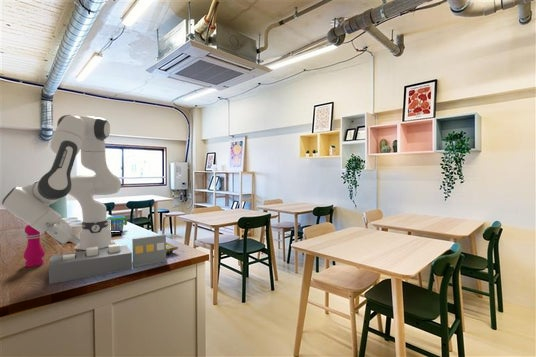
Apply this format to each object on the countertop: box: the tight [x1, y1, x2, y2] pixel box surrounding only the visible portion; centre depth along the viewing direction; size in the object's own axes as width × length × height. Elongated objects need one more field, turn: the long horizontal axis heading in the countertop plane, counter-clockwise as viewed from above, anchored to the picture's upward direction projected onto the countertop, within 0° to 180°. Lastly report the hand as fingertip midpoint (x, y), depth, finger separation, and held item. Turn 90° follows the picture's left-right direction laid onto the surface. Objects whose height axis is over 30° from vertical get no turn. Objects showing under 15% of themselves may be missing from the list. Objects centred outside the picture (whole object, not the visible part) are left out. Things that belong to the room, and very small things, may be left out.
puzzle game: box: [166, 242, 179, 255], centre depth 144 cm, size 12×5×20 cm
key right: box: [107, 243, 121, 253], centre depth 122 cm, size 4×4×4 cm
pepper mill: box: [23, 224, 46, 268], centre depth 125 cm, size 7×7×20 cm
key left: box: [63, 254, 75, 260], centre depth 113 cm, size 4×4×4 cm
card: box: [132, 234, 168, 268], centre depth 128 cm, size 5×14×12 cm, turn 124°
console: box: [48, 244, 133, 285], centre depth 118 cm, size 14×28×7 cm, turn 124°
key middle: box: [85, 247, 98, 256], centre depth 118 cm, size 4×4×4 cm
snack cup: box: [107, 215, 128, 232], centre depth 188 cm, size 16×10×10 cm
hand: (78, 242), depth 115 cm, fingers closed
